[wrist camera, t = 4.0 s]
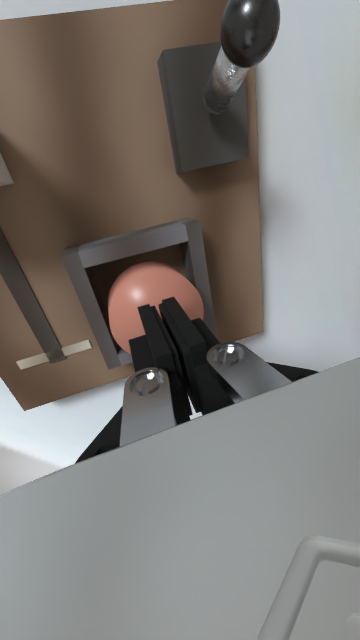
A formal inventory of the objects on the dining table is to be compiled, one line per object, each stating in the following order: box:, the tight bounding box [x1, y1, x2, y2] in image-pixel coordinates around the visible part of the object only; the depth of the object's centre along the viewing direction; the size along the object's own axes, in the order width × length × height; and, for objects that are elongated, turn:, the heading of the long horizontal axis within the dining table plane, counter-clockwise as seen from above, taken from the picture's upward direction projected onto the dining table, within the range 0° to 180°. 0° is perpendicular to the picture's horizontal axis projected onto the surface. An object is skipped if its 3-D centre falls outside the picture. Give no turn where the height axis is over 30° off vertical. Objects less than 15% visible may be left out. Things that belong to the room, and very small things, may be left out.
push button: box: [108, 261, 204, 354], centre depth 13 cm, size 5×5×2 cm
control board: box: [0, 0, 264, 411], centre depth 15 cm, size 18×18×4 cm
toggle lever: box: [203, 0, 280, 115], centre depth 9 cm, size 2×2×4 cm
